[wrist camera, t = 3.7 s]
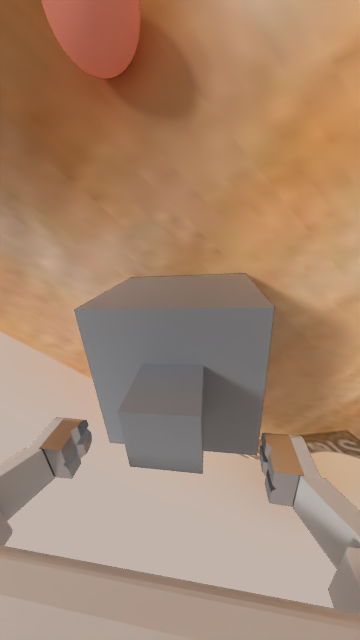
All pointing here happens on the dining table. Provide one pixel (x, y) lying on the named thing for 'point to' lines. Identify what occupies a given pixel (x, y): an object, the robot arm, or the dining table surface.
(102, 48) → the ball
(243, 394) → the grey blocky shape
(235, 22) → the dining table surface
